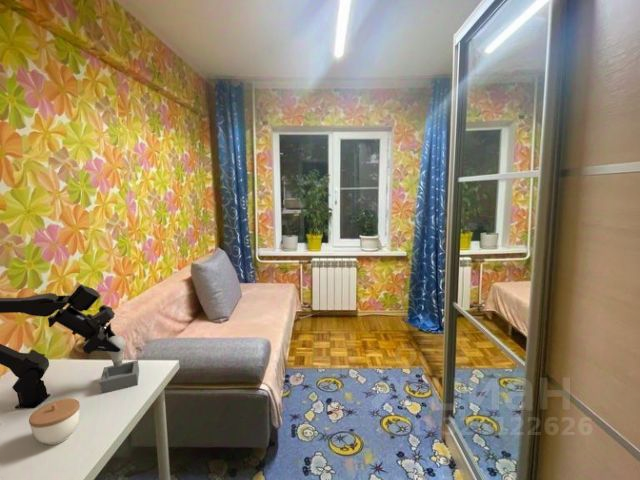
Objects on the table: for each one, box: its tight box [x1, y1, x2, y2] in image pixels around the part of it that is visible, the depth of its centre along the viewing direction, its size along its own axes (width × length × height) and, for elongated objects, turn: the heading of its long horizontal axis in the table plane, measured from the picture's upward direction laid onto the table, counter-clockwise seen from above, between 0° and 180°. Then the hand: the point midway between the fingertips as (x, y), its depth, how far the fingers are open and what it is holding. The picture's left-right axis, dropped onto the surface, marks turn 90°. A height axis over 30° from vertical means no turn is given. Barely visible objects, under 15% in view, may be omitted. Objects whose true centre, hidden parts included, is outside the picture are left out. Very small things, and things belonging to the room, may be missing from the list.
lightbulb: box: [106, 335, 127, 368], centre depth 119 cm, size 6×6×11 cm
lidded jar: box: [28, 397, 81, 446], centre depth 95 cm, size 11×11×9 cm
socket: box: [99, 359, 140, 395], centre depth 121 cm, size 10×10×4 cm
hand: (120, 347), depth 120 cm, fingers closed on lightbulb, 6 cm apart
